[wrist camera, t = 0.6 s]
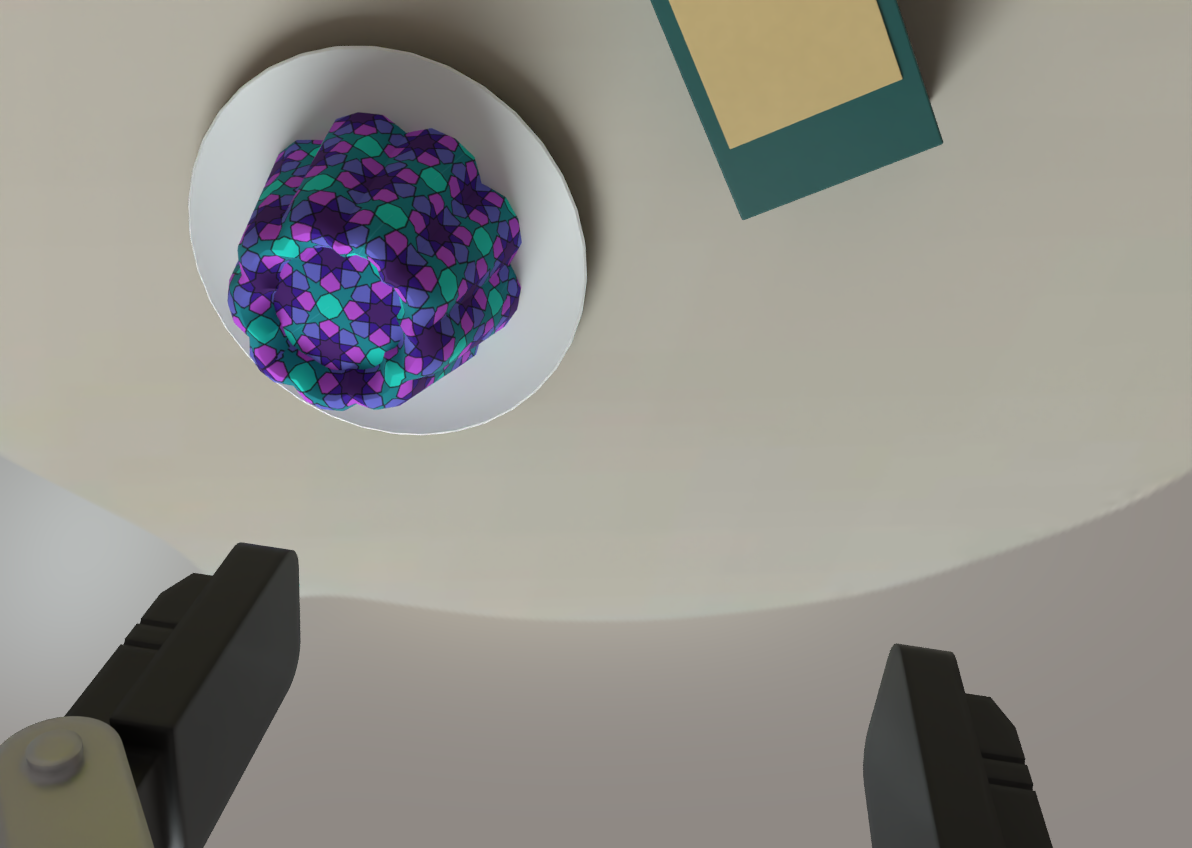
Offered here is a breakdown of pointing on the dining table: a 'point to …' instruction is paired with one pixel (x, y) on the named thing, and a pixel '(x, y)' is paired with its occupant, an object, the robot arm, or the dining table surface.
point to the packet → (799, 91)
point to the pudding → (387, 240)
